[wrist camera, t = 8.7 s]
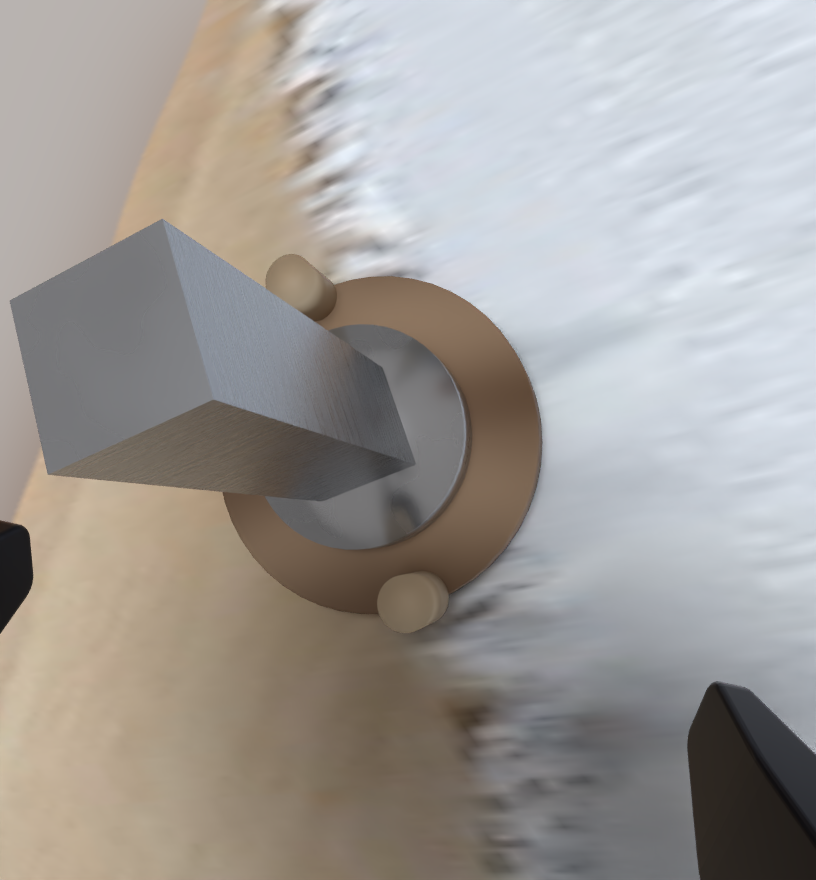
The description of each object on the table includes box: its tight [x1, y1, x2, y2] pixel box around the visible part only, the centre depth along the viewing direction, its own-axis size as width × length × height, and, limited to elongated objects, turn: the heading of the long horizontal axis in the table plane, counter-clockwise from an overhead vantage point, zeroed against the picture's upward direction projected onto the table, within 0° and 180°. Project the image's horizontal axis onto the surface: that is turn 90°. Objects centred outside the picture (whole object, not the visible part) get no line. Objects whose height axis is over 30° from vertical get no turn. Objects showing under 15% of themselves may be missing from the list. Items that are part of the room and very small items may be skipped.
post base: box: [223, 254, 542, 633], centre depth 22 cm, size 12×11×3 cm
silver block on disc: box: [10, 219, 472, 550], centre depth 17 cm, size 7×7×12 cm
